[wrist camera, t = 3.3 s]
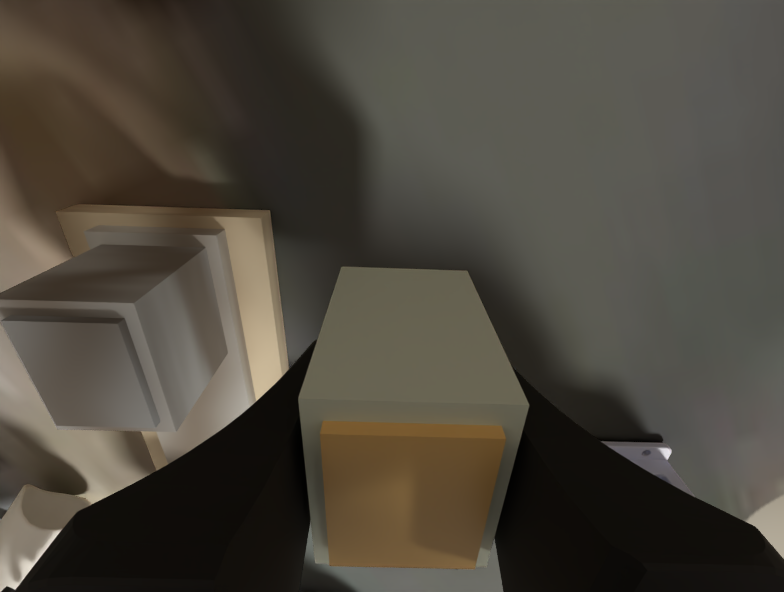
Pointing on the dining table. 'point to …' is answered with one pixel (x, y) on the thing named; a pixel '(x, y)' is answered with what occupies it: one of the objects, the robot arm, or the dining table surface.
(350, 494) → the block
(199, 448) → the robot arm
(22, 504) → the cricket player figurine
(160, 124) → the dining table surface
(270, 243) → the rail board
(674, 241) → the dining table surface
